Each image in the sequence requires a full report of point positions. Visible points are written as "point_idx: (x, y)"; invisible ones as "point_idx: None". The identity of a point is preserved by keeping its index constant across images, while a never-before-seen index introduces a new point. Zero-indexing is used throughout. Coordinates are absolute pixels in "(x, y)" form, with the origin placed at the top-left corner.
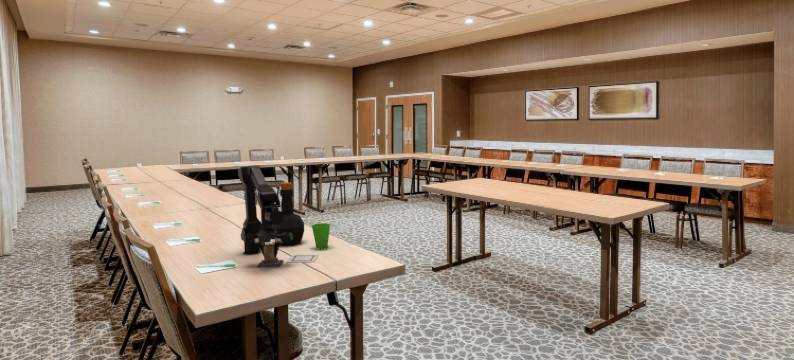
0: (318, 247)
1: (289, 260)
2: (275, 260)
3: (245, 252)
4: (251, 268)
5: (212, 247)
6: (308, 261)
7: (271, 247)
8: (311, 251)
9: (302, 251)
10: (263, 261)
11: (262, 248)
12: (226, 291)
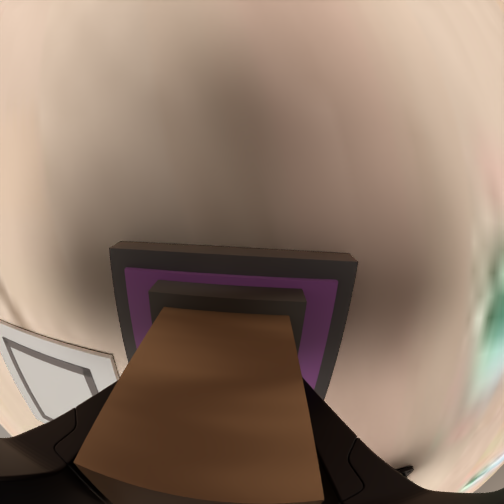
0: None
1: (107, 385)
2: (152, 321)
3: (404, 474)
4: (398, 221)
5: (468, 468)
6: (5, 328)
7: (116, 462)
8: None
9: None
10: (296, 299)
11: (342, 469)
12: None
